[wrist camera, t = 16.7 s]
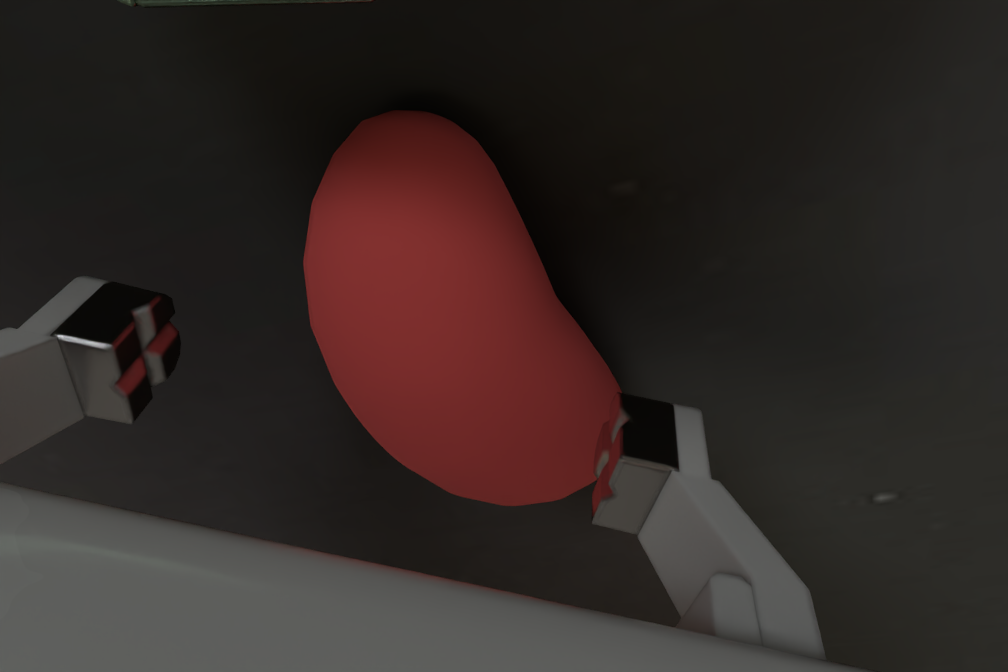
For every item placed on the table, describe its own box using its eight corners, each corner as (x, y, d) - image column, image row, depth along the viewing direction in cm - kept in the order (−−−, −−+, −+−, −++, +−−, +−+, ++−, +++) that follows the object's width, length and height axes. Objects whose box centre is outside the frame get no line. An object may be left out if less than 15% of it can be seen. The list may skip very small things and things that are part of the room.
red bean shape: (413, 377, 20) (475, 577, 16) (208, 166, 13) (236, 440, 9) (568, 298, 20) (669, 485, 16) (447, 33, 12) (579, 264, 9)
